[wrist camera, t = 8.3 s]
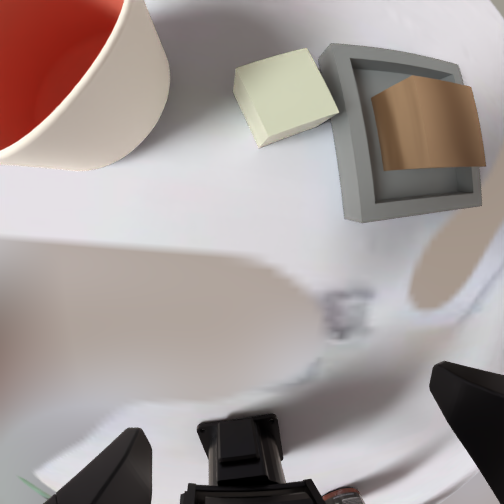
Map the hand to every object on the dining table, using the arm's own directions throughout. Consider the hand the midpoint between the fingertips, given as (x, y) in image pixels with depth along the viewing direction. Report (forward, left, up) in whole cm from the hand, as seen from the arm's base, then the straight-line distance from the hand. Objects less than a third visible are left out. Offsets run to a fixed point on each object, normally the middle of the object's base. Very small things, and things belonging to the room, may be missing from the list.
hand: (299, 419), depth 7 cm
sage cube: (+11, -3, -12) cm, 17 cm away
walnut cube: (+9, -12, -11) cm, 19 cm away
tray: (+9, -12, -12) cm, 19 cm away
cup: (+14, +8, -12) cm, 20 cm away
